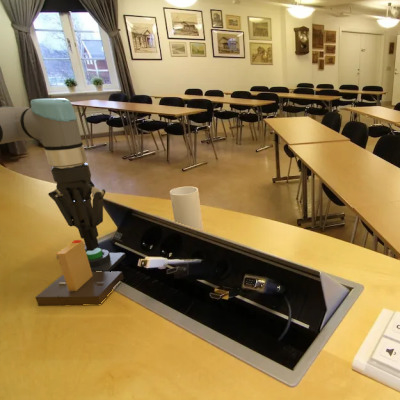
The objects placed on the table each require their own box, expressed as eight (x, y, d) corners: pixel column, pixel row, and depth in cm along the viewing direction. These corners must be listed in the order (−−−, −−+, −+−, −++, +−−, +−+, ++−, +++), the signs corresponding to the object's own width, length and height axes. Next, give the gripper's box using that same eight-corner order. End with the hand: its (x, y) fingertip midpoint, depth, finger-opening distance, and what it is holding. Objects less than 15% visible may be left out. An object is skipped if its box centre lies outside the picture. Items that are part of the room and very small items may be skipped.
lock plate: (38, 306, 73) (34, 296, 72) (68, 279, 82) (66, 271, 82) (100, 305, 74) (98, 295, 73) (124, 279, 83) (122, 270, 82)
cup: (176, 243, 101) (167, 196, 95) (179, 232, 108) (171, 187, 102) (203, 240, 103) (197, 193, 97) (204, 229, 110) (198, 185, 105)
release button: (84, 260, 86) (82, 254, 86) (92, 253, 90) (91, 247, 89) (97, 260, 87) (96, 254, 86) (105, 253, 90) (104, 247, 89)
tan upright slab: (76, 291, 74) (64, 252, 71) (68, 291, 74) (55, 252, 71) (93, 275, 80) (82, 239, 76) (85, 275, 80) (74, 239, 76)
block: (65, 274, 85) (62, 264, 84) (87, 256, 93) (85, 247, 92) (108, 274, 85) (105, 264, 84) (126, 256, 93) (124, 247, 92)
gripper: (105, 160, 82) (124, 241, 91) (53, 160, 82) (78, 241, 90) (86, 168, 75) (109, 255, 84) (29, 168, 75) (58, 255, 83)
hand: (93, 248), depth 87 cm, fingers closed
